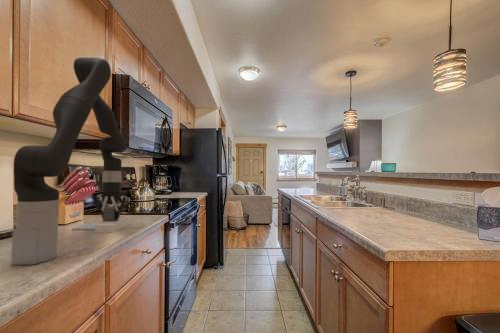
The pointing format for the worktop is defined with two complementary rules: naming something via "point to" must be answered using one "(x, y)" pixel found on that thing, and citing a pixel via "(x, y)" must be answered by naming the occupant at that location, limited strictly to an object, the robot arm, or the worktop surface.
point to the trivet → (85, 227)
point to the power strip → (113, 225)
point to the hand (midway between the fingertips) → (110, 219)
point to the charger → (109, 214)
